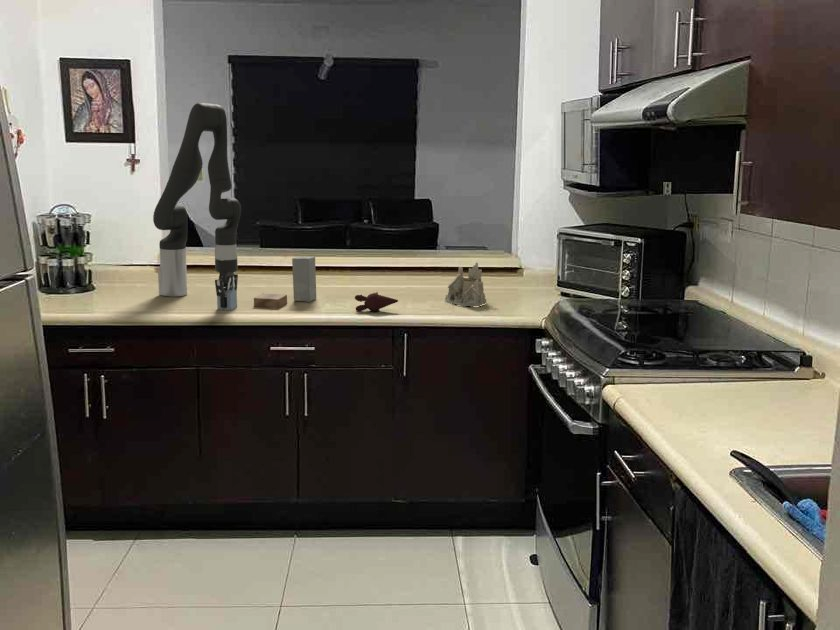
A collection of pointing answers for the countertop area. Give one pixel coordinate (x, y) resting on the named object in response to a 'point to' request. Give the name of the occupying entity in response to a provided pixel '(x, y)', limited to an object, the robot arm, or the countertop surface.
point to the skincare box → (304, 278)
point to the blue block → (229, 300)
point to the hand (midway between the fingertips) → (227, 305)
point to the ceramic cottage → (467, 288)
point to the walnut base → (270, 300)
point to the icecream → (374, 302)
